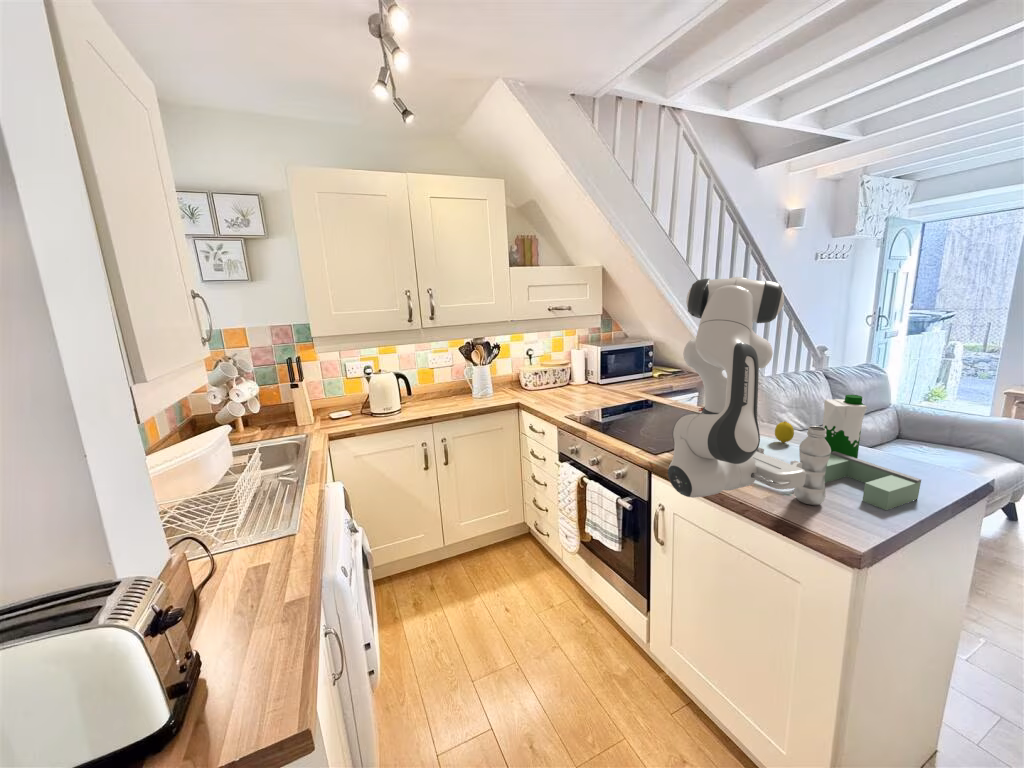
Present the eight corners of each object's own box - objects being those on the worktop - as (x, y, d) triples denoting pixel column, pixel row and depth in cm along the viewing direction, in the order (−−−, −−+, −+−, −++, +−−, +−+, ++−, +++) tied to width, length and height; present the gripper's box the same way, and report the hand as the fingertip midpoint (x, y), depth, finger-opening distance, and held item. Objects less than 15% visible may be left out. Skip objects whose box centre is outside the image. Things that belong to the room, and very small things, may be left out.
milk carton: (862, 463, 119) (871, 400, 115) (827, 461, 122) (835, 399, 117) (847, 451, 128) (855, 392, 123) (814, 450, 130) (821, 392, 126)
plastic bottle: (791, 503, 101) (799, 429, 96) (795, 492, 105) (803, 422, 101) (822, 511, 96) (832, 435, 92) (825, 500, 101) (835, 426, 97)
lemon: (795, 446, 134) (798, 424, 132) (777, 445, 135) (780, 424, 134) (788, 440, 140) (790, 418, 138) (770, 439, 141) (772, 418, 139)
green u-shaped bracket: (803, 476, 114) (805, 458, 112) (832, 468, 117) (834, 451, 116) (885, 510, 95) (889, 489, 94) (917, 499, 99) (921, 479, 97)
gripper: (778, 473, 79) (826, 461, 83) (701, 441, 98) (743, 432, 102) (776, 501, 80) (823, 488, 85) (700, 464, 100) (742, 455, 104)
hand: (779, 457), depth 94 cm, fingers open, 8 cm apart
